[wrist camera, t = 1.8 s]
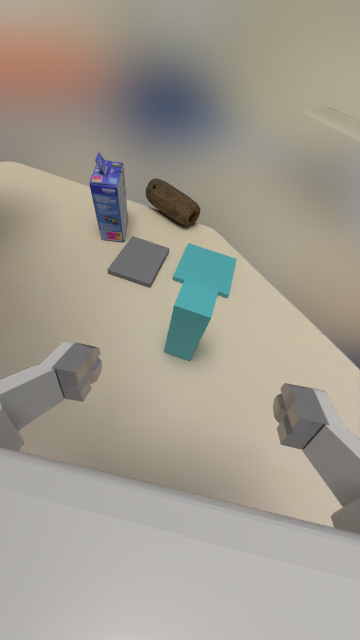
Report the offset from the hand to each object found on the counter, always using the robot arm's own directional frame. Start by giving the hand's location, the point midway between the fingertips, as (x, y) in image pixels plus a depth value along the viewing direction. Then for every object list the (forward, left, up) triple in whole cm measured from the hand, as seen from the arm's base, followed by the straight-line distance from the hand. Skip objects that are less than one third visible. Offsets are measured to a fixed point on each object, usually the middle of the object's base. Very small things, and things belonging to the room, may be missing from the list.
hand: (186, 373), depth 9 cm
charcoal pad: (-15, +30, -23) cm, 40 cm away
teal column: (0, +14, -23) cm, 27 cm away
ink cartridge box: (-25, +38, -23) cm, 51 cm away
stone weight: (-14, +50, -24) cm, 58 cm away
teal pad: (-1, +34, -23) cm, 41 cm away
